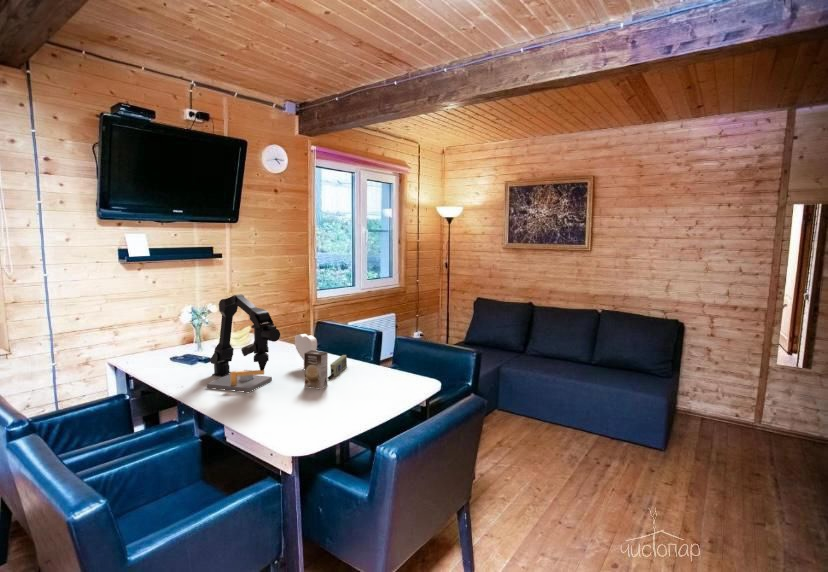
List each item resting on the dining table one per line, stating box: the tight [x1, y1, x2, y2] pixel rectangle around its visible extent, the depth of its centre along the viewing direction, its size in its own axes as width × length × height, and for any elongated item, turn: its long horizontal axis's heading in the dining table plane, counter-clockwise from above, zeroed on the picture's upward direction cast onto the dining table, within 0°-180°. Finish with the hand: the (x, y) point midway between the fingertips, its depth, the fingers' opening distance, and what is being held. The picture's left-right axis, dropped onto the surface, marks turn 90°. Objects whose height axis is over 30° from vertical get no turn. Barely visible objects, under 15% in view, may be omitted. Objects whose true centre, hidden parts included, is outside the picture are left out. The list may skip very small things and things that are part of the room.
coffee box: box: [303, 350, 329, 390], centre depth 205 cm, size 9×6×16 cm
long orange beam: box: [230, 369, 265, 385], centre depth 201 cm, size 3×14×6 cm, turn 104°
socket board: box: [206, 373, 273, 393], centre depth 208 cm, size 22×18×2 cm
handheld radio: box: [327, 354, 348, 380], centre depth 228 cm, size 7×3×25 cm
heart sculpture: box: [294, 333, 318, 369], centre depth 234 cm, size 16×5×18 cm, turn 47°
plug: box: [240, 369, 254, 381], centre depth 209 cm, size 4×4×6 cm
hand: (261, 371), depth 204 cm, fingers closed
